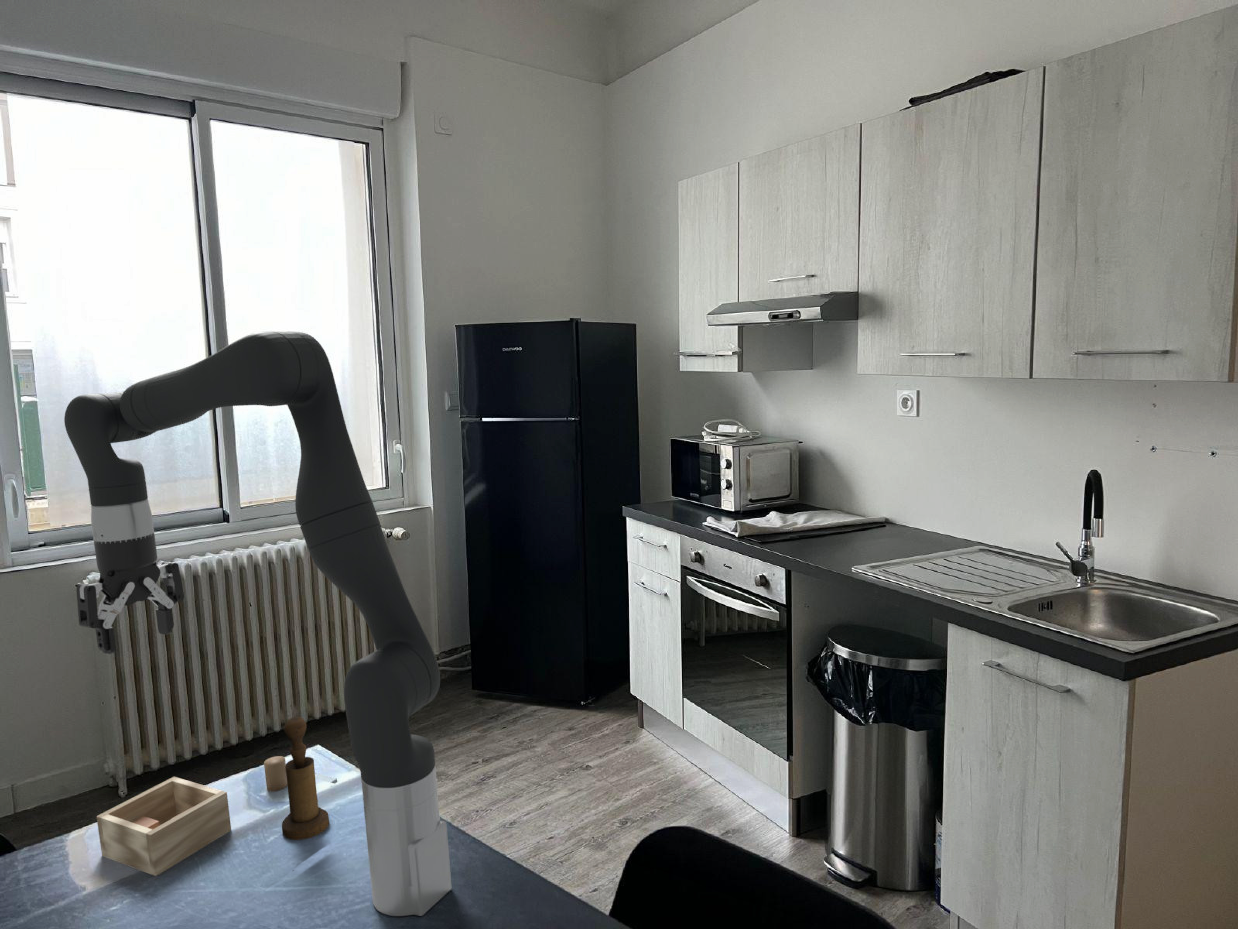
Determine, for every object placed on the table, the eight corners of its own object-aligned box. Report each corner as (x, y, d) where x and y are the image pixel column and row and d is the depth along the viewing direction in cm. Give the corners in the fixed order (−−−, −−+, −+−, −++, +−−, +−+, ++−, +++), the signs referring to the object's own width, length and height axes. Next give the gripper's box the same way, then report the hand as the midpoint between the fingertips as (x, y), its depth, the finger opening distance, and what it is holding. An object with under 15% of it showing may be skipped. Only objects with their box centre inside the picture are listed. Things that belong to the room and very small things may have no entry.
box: (232, 836, 127) (226, 792, 126) (156, 882, 116) (150, 835, 115) (179, 819, 132) (173, 776, 131) (103, 862, 122) (96, 816, 121)
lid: (337, 784, 142) (334, 750, 141) (274, 824, 130) (270, 788, 130) (281, 769, 148) (278, 737, 147) (216, 807, 136) (212, 772, 136)
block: (162, 843, 124) (159, 821, 123) (139, 857, 121) (136, 834, 120) (146, 838, 125) (143, 816, 125) (123, 851, 122) (120, 828, 122)
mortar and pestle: (337, 821, 129) (326, 709, 127) (318, 846, 123) (306, 728, 120) (295, 821, 130) (283, 709, 128) (274, 846, 124) (261, 728, 121)
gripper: (89, 546, 113) (105, 663, 116) (186, 524, 126) (199, 630, 128) (56, 543, 117) (72, 656, 119) (153, 521, 129) (167, 624, 132)
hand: (138, 642), depth 124 cm, fingers open, 8 cm apart
